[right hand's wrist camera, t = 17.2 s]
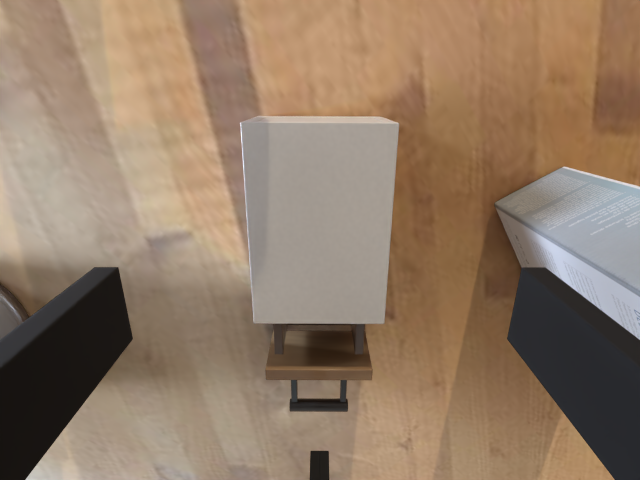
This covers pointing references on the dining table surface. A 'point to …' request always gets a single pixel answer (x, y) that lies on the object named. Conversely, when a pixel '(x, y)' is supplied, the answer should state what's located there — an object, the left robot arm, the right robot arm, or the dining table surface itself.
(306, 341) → the drawer
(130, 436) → the dining table surface
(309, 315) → the cabinet
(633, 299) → the hard drive box
